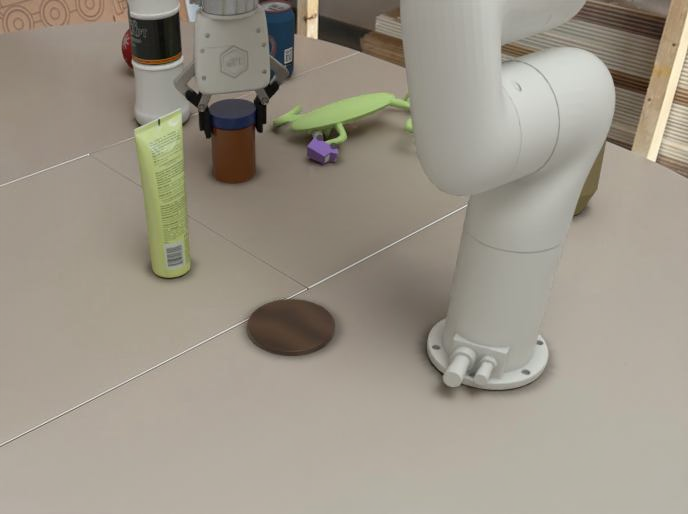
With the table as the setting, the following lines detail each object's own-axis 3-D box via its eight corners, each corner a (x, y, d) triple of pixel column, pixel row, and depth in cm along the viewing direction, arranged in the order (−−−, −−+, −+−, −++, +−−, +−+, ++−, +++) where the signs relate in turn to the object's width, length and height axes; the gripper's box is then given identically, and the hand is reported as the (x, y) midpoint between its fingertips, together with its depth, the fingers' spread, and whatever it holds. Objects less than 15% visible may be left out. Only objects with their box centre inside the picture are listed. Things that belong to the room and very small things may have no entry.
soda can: (247, 77, 149) (246, 6, 141) (273, 66, 153) (274, -4, 144) (274, 86, 146) (275, 14, 137) (301, 75, 149) (303, 4, 141)
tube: (153, 256, 107) (137, 108, 94) (192, 254, 107) (181, 106, 94) (150, 280, 103) (133, 129, 90) (191, 279, 103) (179, 127, 90)
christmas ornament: (177, 66, 155) (173, 9, 148) (157, 83, 150) (152, 25, 143) (137, 61, 158) (131, 5, 151) (116, 78, 152) (109, 21, 146)
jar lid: (246, 132, 114) (246, 121, 113) (201, 126, 116) (200, 115, 115) (263, 112, 118) (263, 101, 117) (219, 107, 120) (218, 96, 119)
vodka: (188, 130, 134) (174, -79, 114) (132, 132, 135) (108, -76, 114) (192, 107, 141) (179, -95, 120) (138, 109, 142) (116, -92, 121)
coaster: (312, 365, 90) (313, 361, 89) (232, 340, 93) (232, 336, 93) (348, 316, 96) (348, 311, 95) (271, 295, 100) (271, 290, 99)
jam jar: (243, 186, 120) (241, 123, 113) (205, 178, 122) (201, 116, 116) (263, 168, 124) (262, 106, 117) (225, 160, 126) (223, 99, 120)
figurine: (461, 158, 123) (467, 121, 119) (283, 171, 122) (284, 135, 118) (430, 107, 136) (434, 73, 132) (269, 119, 136) (269, 85, 132)
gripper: (165, 14, 103) (176, 150, 115) (301, 1, 104) (297, 136, 116) (159, -4, 108) (170, 127, 121) (288, -17, 109) (286, 115, 122)
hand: (232, 131), depth 118 cm, fingers closed on jar lid, 6 cm apart
